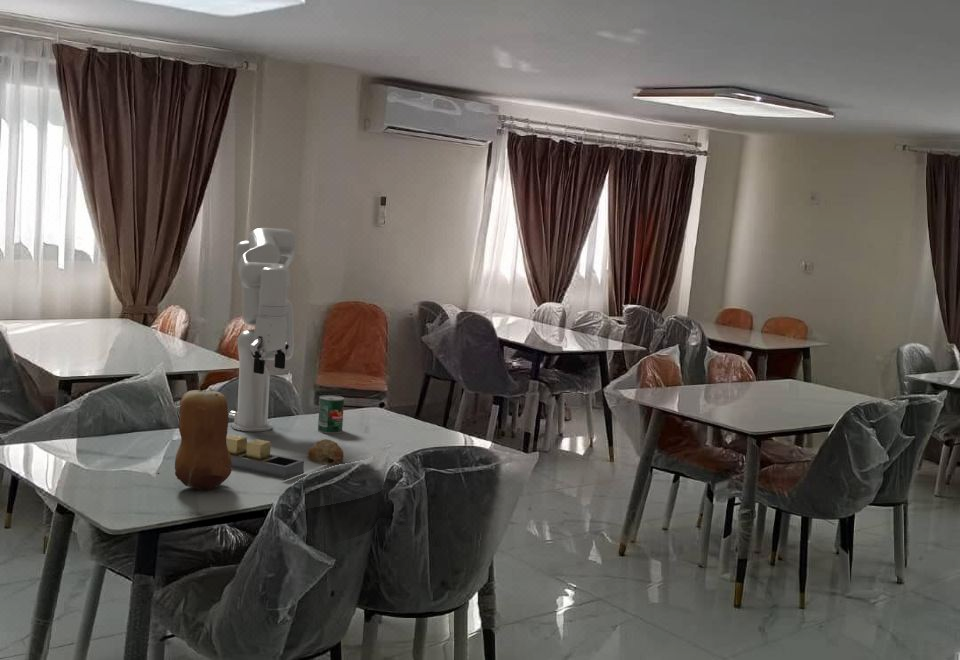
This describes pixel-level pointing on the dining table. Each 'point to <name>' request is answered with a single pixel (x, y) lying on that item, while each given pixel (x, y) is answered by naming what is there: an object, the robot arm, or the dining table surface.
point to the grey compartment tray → (270, 465)
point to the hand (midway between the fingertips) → (269, 370)
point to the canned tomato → (330, 414)
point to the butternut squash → (203, 440)
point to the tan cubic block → (258, 449)
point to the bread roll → (325, 452)
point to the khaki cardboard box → (236, 445)
